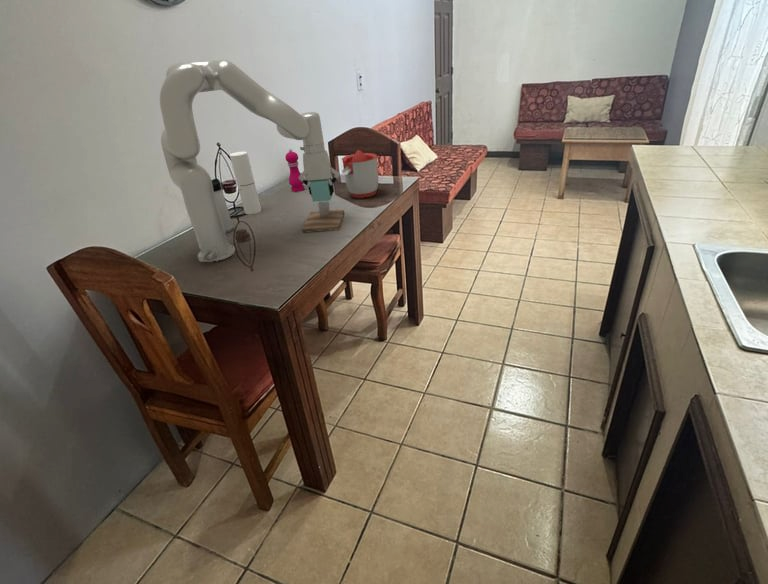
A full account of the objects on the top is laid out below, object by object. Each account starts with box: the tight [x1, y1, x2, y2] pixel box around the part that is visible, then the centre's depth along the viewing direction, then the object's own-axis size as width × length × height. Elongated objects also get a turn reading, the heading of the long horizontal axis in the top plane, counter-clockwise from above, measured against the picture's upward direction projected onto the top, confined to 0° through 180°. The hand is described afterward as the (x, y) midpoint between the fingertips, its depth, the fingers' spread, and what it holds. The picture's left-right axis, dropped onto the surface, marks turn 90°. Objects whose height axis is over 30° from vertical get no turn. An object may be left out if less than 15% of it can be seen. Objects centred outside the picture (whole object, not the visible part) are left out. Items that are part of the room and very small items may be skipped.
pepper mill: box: [285, 148, 305, 193], centre depth 203 cm, size 7×7×20 cm
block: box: [318, 200, 331, 217], centre depth 168 cm, size 4×4×6 cm
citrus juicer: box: [341, 149, 379, 199], centre depth 187 cm, size 16×17×20 cm
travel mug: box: [211, 178, 234, 234], centre depth 163 cm, size 6×7×20 cm
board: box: [302, 209, 345, 233], centre depth 166 cm, size 18×14×2 cm
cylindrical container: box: [229, 151, 262, 215], centre depth 179 cm, size 7×7×25 cm
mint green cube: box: [309, 179, 333, 203], centre depth 164 cm, size 7×7×8 cm
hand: (322, 194), depth 165 cm, fingers closed on mint green cube, 6 cm apart
